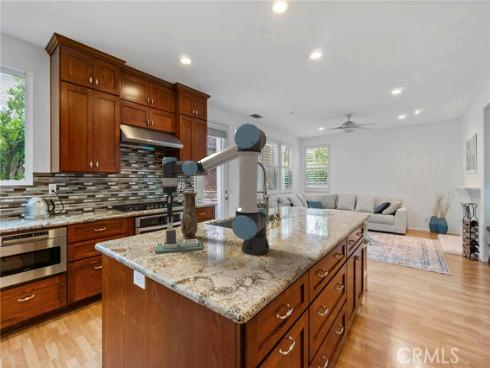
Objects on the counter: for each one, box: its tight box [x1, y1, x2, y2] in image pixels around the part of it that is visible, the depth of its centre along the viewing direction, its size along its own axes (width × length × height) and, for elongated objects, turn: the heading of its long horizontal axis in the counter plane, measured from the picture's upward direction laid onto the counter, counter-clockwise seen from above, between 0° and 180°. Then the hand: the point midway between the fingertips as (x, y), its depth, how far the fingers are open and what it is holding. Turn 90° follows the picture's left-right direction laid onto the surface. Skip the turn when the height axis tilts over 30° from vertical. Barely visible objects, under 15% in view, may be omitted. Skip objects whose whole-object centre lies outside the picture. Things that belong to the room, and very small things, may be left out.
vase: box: [180, 191, 199, 240], centre depth 150 cm, size 10×11×30 cm
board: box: [154, 238, 203, 254], centre depth 129 cm, size 24×14×3 cm, turn 105°
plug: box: [165, 228, 177, 244], centre depth 128 cm, size 5×4×9 cm
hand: (170, 228), depth 128 cm, fingers closed
